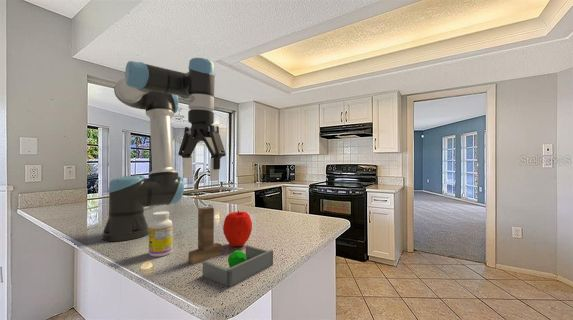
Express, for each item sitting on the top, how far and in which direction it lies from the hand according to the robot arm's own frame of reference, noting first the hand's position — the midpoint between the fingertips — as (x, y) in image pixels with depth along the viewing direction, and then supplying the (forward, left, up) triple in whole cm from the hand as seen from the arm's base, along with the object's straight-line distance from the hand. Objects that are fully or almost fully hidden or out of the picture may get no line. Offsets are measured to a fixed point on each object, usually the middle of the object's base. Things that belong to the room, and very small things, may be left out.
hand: (200, 179), depth 78 cm
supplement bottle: (-5, -12, -24) cm, 27 cm away
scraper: (+2, +2, -24) cm, 24 cm away
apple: (-7, +12, -24) cm, 27 cm away
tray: (+13, +12, -24) cm, 29 cm away
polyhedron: (+13, +11, -24) cm, 29 cm away
